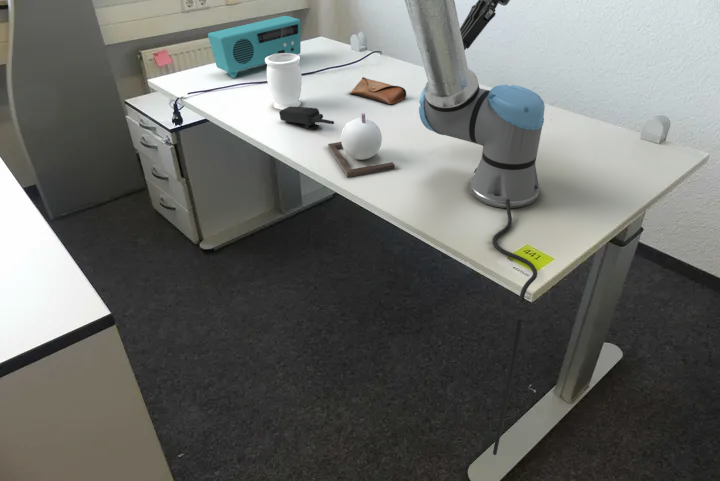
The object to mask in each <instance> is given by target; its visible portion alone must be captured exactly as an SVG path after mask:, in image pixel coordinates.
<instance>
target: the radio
mask: <svg viewBox="0 0 720 481" xmlns="http://www.w3.org/2000/svg"><path fill="white" fill-rule="evenodd" d="M301 22H302V21H301V20H300V19H299V18H295V17H292V16H288V15H283V16H279V17H274V18H269V19H265V20H261V21H255V22H251V23H248V24H243V25H238V26H233V27H229V28H225V29H221V30H215V31H211V32H208V33H207V37H208V40H209V45H210V48H211V51H212V55H213V58H214V62H215V65H216V67H217V69H220V70H222V71H225V72H226V73H227V75H228V76H230V77H231V78H232V79H236V78H237V75H238V72H240V71H244V70H247V69H251V68H254V67H255V68H256V67H258V66H262V65H266V63H265V58H266V57H268V56H270V55H274V54H280V53H292V54H296V55H298V56H299V55H301V48H302V46H301V38H302V36H301V33H302V32H301V28H302V27H301Z"/></svg>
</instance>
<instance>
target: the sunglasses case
mask: <svg viewBox="0 0 720 481" xmlns="http://www.w3.org/2000/svg"><path fill="white" fill-rule="evenodd" d="M348 93H349V95H353V96H358V97H362V98H365V99H368V100H372V101H375V102H378V103H382V104H387V105H395V104H398V103H401V102H402V101H405V100H406V97H407V90H406V89H405V88H404V87H403V86H399V85H392V84H389V83H386V82H382V81H378V80H374V79H370V78H366V77H364V76H362V77H361V79H360V81H359V82H358V83H357V84H356V85H355V87H354V88H352V90H351V91H350V92H348Z"/></svg>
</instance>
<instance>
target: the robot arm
mask: <svg viewBox="0 0 720 481" xmlns="http://www.w3.org/2000/svg"><path fill="white" fill-rule="evenodd" d="M510 1H511V0H477V2H476V3H475V4H473V5H472V6H471V8H470V11H469V13H468V15H467V16H466V17H465V19H464V20H463V23H462V24H461V26H460V23H459V17H458V13H457V12H458V11H457V8H456V3H455V0H404V3H405V7H406V10H407V13H408V16H409V20H410V23H411V26H412V30H413V33H414V34H413V35H414V38H415V41H416V44H417V47H418V51H419V54H420V58H421V62H422V65H423V70H424V72H425V75H426V79H427V82H426V83H425V86H424V88H423V89H422V91H421V93H420V95H419V97H420V98H419V101H418V103H419V104H420V106H419V107H418V115H419V119H420V122H421V123H422V125H423V127H425V128H426V129H427V130H429V131H431V132H434V133H436V134H438V135H441V136H447V137H450V138H453V139H457V140H462V141H464V142H465V141H466V142H469V143H473V144H477V145H480V146H482V152H481V153H482V154H481V159H480V161H479V163H478V165H477V167H476V168H475V169H474V171H473V176H472V178H471V180H470V186H469V190H470V194H471V196H473V198H475V199H476V200H477V201H478V202H481V203H482V204H485V205H487V206H491V207H493V208H494V207H495V208H499V209H500V208H501V209H506V214H507V224H506V225H505V227H504V228H502V229H501V230H499V231H498V232H497V233H495V234H494V235H493V237H492V242H491V243H492V245H493V247H494V248H495V249H496V251H498V252H500V253H501V254H503V255H505V256H508V257H509V258H512V259H515V260H516V261H519V262H521V263H523V264H525V265H526V266H528V267H529V268H530V270H531V272H532V275H531V276H530V278H529V279H527V281H526V282H525V283H524V284H523V286H522V288H521V290H520V293H519V298H518V301H519V302H520V303H523V302H524V301H525V296H526V293H527V290H528V289H529V287H530V286H531V284H533V283H534V281H535V280H536V279H537V277H538V271H537V270H538V269H537V267H536V266H535V265H534V264H533V263H532V262H531V261H530V260H528V259H527V258H525V257H523V256H520V255H518V254H515V253H513V252H511V251H509V250H506V249H504V248H503V247H501V246H500V245H499V244H498V242H497V239H498V238H500V237H501V236H502V235H504V234H505V233H506V232H507V231H508V230H510V228H511V226H512V223H513V217H512V211H511V210H512V209H519V208H524V207H527V206H530V205H531V204H533V203H534V202H536V200H537V199H538V197H539V192H540V182H539V177H538V172H537V165H536V161H537V157H538V152H539V145H540V140H541V134H542V130H543V126H544V122H545V118H544V116H545V108H546V105H545V102H544V100H543V98H541V96H540V95H539V94H538V93H537V92H535V91H534V90H531V89H529V88H527V87H523V86H520V85H515V84H511V85H509V84H499V85H495V86H493V87H492V88H491V89H490V90H489V89H485V88H481V87H480V84H479V79H478V76H477V74H476V73H475V72H474V71H473V70H472V69H470V68H469V66H468V60H467V56H466V52H465V51H466V50H468V49H469V48H470V47H471V46H472V45H473V43H474V42H475V41H476V40H477V38H478V37H479V35H480V34H481V33H482V32H483V30H484V29H485V28H486V27H487V25H488V24H489V22H491V21H492V20H493V18H495V17H496V14H497V13H496V9H497V7H498V5H501V6H507V5H508V4H509V3H510ZM522 324H523V318H522V319H517V321H516V329H515V335H514V342H513V347H512V354H511V359H510V364H509V370H508V376H507V379H506V380H507V381H506V385H505V390H504V396H503V401H502V405H501V409H500V410H501V411H500V416H499V421H498V425H497V431H496V434H495V439H494V445H493V450H492V454H493V455H494V456H497V454H498V448H499V444H500V439H501V434H502V430H503V424H504V421H505V420H504V419H505V416H506V415H505V414H506V410H507V406H508V401H509V397H510V391H511V387H512V382H513V376H514V372H515V366H516V362H517V357H518V352H519V350H518V349H519V345H520V337H521V332H522V326H523V325H522Z"/></svg>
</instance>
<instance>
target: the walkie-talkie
mask: <svg viewBox="0 0 720 481" xmlns="http://www.w3.org/2000/svg"><path fill="white" fill-rule="evenodd" d="M278 115H279V118H280V121H282V122H283V121H284V122H289V125H293V126H296V127H300V128H304V129H307V130H314V129H318V128H319V127H320V125H319V124H317V123H322V124H328V125H330V124H331V125H334V124H335V121H334V120H330V119H325V118H324V115H323V113H320V110H319V109H318V108H317V107H307V106H299V107H291V106H290V107H287V108H285V109H283V110H279V114H278Z"/></svg>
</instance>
